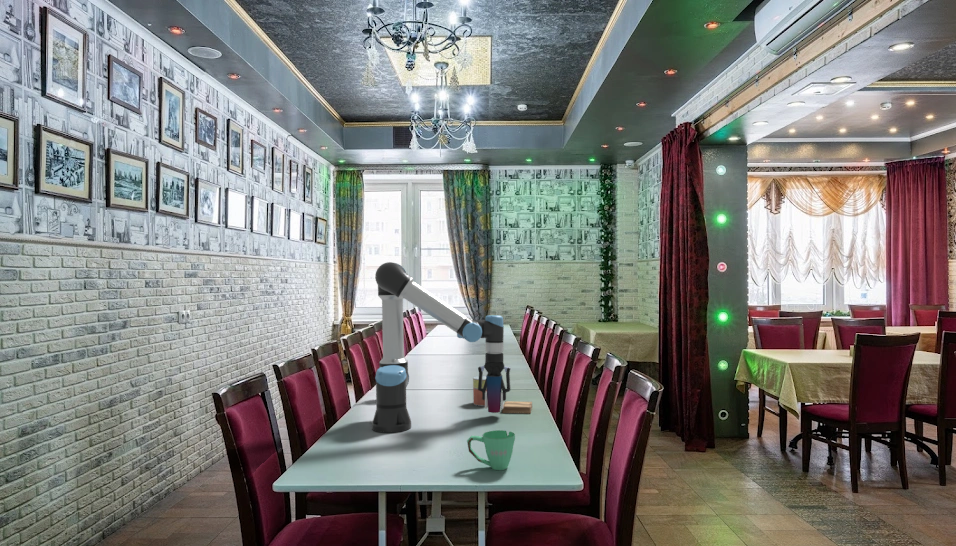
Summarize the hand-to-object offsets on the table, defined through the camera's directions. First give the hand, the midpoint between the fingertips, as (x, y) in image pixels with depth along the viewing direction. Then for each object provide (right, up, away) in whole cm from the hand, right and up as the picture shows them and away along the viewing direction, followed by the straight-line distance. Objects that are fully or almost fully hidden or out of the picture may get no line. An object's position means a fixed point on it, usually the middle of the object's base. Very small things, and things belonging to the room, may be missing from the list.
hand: (494, 408), depth 244 cm
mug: (-3, -3, -66) cm, 66 cm away
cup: (0, -2, 0) cm, 2 cm away
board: (+11, -4, +12) cm, 16 cm away
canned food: (-3, -4, +27) cm, 27 cm away
